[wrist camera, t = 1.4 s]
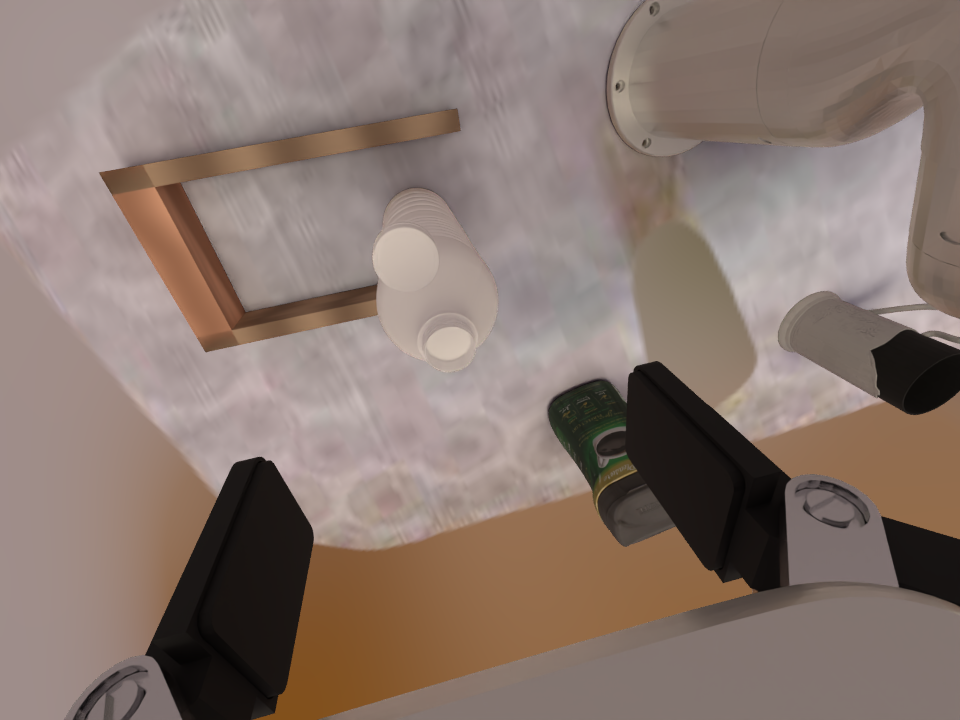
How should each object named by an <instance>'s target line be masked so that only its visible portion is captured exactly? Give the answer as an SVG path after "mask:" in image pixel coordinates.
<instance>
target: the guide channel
mask: <svg viewBox="0 0 960 720" xmlns="http://www.w3.org/2000/svg"><path fill="white" fill-rule="evenodd" d="M457 131H461V130H460V123H459V117H458V110H457V109H452V110H446V111H440V112H435V113H429V114H424V115H418V116H412V117H407V118H401V119H396V120H390V121H384V122H379V123H373V124H368V125H362V126H357V127H351V128H345V129H340V130H334V131H329V132H323V133H317V134H312V135H306V136H301V137H295V138H289V139H284V140H278V141H273V142H267V143H262V144H256V145H250V146H245V147H239V148H234V149H228V150H222V151H217V152H211V153H206V154H200V155H195V156H189V157H183V158H178V159H172V160H167V161H161V162H155V163H150V164H144V165H139V166H133V167H127V168H122V169H116V170H111V171H105V172H100V173H99V174H100V175H101V177H102V179H103V181H104V182H105V184H106V186H107V187H108V189H109V191H110V192H111V194H112V196H113V197H114V199H115V201H116V202H117V204H118V206H119V207H120V209H121V211H122V212H123V214H124V216H125V218H126V219H127V221H128V223H129V224H130V226H131V228H132V229H133V231H134V233H135V234H136V236H137V238H138V239H139V241H140V243H141V244H142V246H143V248H144V249H145V251H146V253H147V255H148V256H149V258H150V260H151V261H152V263H153V265H154V266H155V268H156V270H157V271H158V273H159V275H160V276H161V278H162V280H163V281H164V283H165V285H166V286H167V288H168V290H169V291H170V293H171V295H172V297H173V298H174V300H175V302H176V303H177V305H178V307H179V308H180V310H181V312H182V313H183V315H184V317H185V318H186V320H187V322H188V323H189V325H190V327H191V328H192V330H193V332H194V334H195V335H196V337H197V339H198V340H199V342H200V344H201V345H202V347H203V349H204V350H205V352H209V351H214V350H218V349H223V348H227V347H232V346H237V345H241V344H246V343H251V342H255V341H260V340H264V339H269V338H274V337H278V336H283V335H287V334H292V333H297V332H301V331H306V330H311V329H315V328H320V327H324V326H329V325H334V324H338V323H343V322H348V321H352V320H357V319H361V318H366V317H371V316H375V315H378V312H377V305H376V294H377V286H378V285H373V286H369V287H364V288H359V289H354V290H350V291H345V292H340V293H335V294H331V295H326V296H321V297H316V298H312V299H307V300H302V301H297V302H293V303H288V304H283V305H278V306H274V307H269V308H264V309H259V310H255V311H250V312H245V310H244V309H243V307H242V305H241V303H240V301H239V299H238V297H237V295H236V293H235V291H234V289H233V287H232V285H231V283H230V281H229V279H228V277H227V275H226V273H225V271H224V269H223V267H222V265H221V263H220V261H219V259H218V257H217V255H216V253H215V251H214V249H213V247H212V245H211V243H210V241H209V239H208V237H207V235H206V233H205V231H204V229H203V227H202V225H201V223H200V221H199V219H198V217H197V215H196V213H195V211H194V209H193V207H192V205H191V203H190V201H189V199H188V197H187V195H186V193H185V191H184V189H183V187H182V185H181V183H180V182H185V181H190V180H196V179H201V178H207V177H212V176H218V175H223V174H229V173H234V172H239V171H245V170H250V169H256V168H261V167H267V166H272V165H278V164H283V163H289V162H294V161H299V160H305V159H310V158H316V157H321V156H327V155H332V154H338V153H343V152H348V151H354V150H359V149H365V148H370V147H376V146H381V145H387V144H392V143H397V142H403V141H408V140H414V139H419V138H425V137H430V136H436V135H441V134H447V133H452V132H457Z"/></svg>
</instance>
